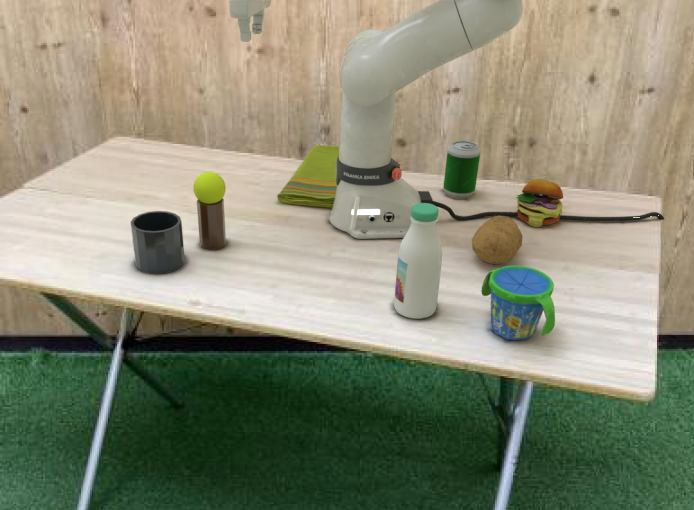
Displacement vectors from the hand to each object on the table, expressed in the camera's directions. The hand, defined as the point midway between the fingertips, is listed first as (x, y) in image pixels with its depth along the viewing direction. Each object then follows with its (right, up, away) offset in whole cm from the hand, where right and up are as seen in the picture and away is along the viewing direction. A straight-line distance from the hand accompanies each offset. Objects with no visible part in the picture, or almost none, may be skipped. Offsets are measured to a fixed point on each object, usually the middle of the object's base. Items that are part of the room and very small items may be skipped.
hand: (251, 37), depth 155 cm
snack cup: (+47, -58, -17) cm, 76 cm away
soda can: (+47, -25, +33) cm, 62 cm away
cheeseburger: (+63, -32, +22) cm, 74 cm away
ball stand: (-9, -40, +9) cm, 42 cm away
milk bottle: (+31, -54, -11) cm, 63 cm away
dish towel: (+16, -20, +40) cm, 47 cm away
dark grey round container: (-18, -44, +3) cm, 48 cm away
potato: (+49, -43, +6) cm, 66 cm away
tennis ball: (-9, -29, +2) cm, 31 cm away
